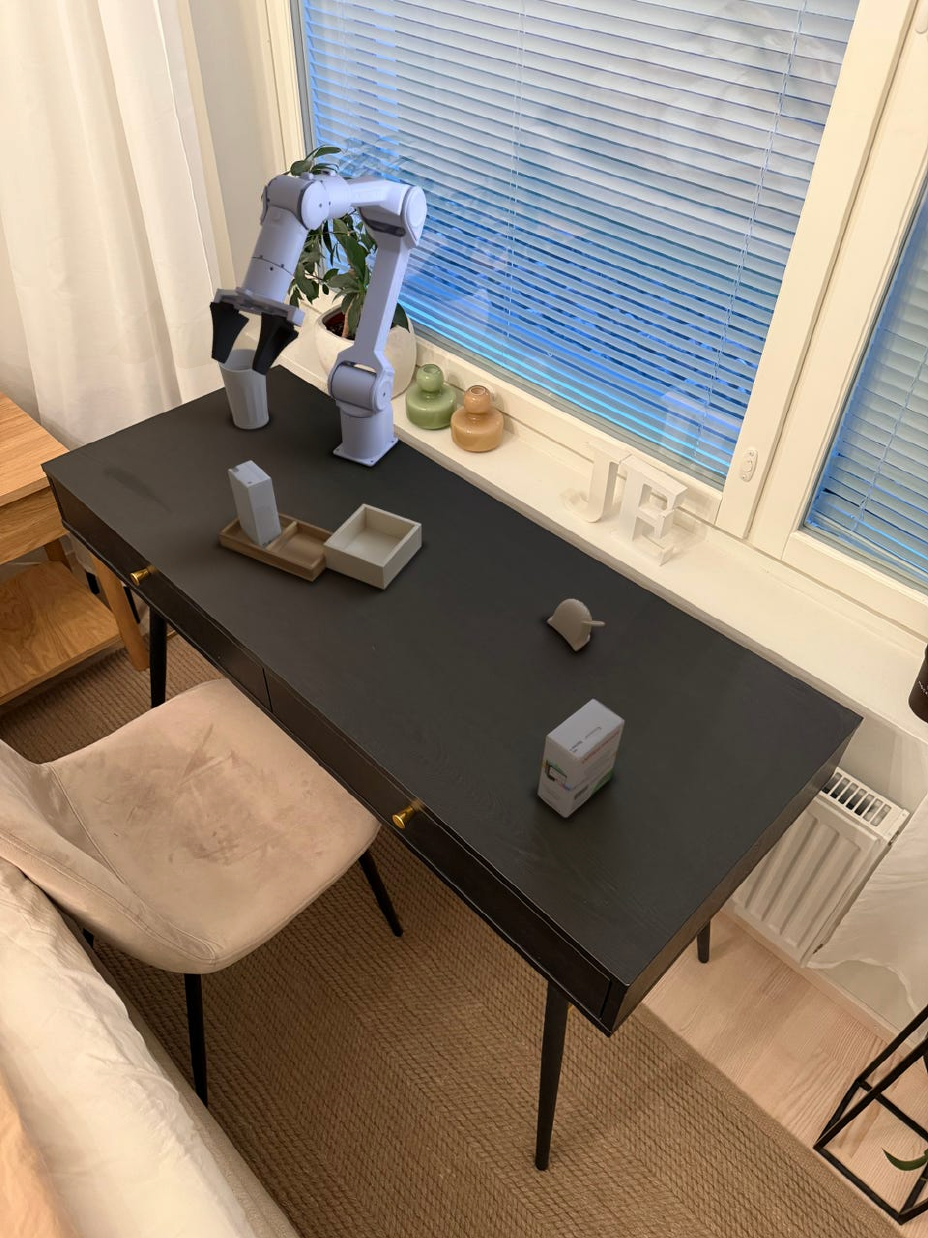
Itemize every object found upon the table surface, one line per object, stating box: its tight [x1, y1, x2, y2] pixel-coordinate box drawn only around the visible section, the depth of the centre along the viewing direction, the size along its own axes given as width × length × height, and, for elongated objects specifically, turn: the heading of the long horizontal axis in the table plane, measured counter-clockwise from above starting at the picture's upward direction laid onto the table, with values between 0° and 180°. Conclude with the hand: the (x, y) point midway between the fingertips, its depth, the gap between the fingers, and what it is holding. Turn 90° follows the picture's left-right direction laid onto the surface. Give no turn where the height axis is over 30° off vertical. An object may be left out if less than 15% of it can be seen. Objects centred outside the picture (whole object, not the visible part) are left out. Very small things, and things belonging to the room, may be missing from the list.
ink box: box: [537, 698, 626, 819], centre depth 105 cm, size 8×5×12 cm, turn 134°
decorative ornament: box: [546, 598, 606, 652], centre depth 125 cm, size 4×8×5 cm, turn 32°
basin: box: [323, 503, 422, 590], centre depth 136 cm, size 11×10×4 cm
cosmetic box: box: [227, 460, 281, 548], centre depth 136 cm, size 6×4×12 cm
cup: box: [217, 348, 270, 430], centre depth 159 cm, size 8×8×12 cm
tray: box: [218, 511, 335, 583], centre depth 138 cm, size 9×17×2 cm, turn 63°
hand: (237, 366), depth 118 cm, fingers open, 7 cm apart
